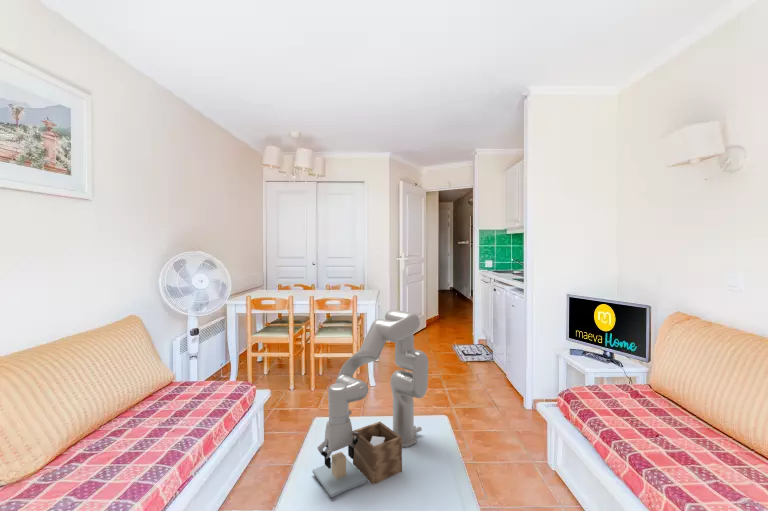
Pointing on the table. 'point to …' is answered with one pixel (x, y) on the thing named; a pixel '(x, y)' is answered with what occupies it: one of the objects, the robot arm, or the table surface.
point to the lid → (339, 475)
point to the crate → (378, 453)
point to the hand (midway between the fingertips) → (339, 461)
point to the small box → (377, 440)
